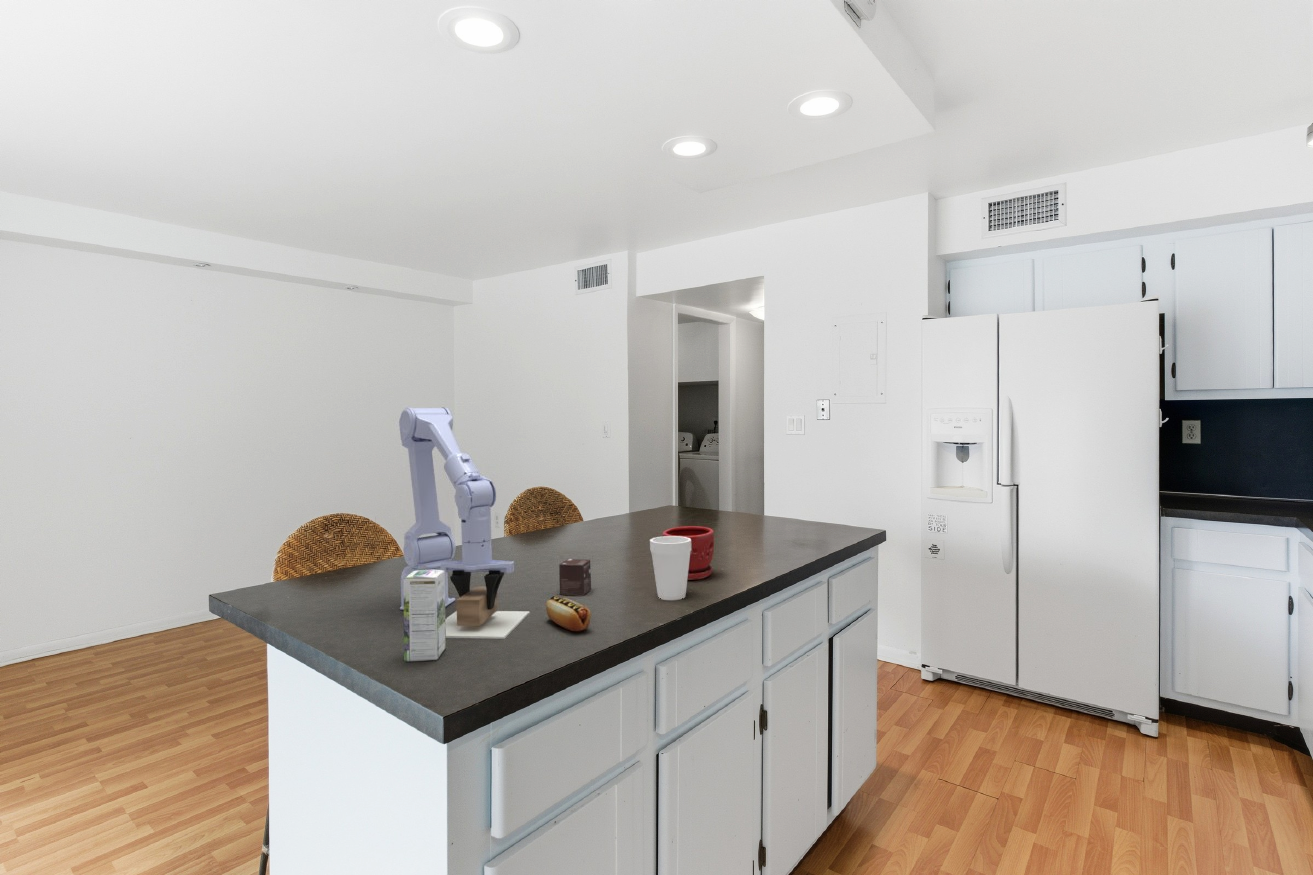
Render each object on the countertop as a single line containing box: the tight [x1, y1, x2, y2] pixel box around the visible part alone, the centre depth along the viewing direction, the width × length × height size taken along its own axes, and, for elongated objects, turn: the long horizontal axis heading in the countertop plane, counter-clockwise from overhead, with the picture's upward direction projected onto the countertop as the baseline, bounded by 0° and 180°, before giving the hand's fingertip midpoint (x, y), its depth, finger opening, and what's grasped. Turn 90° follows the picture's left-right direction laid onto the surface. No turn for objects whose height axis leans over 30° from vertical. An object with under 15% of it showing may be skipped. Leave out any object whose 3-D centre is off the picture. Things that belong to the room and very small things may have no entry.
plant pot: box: [662, 525, 715, 581], centre depth 167 cm, size 13×13×12 cm
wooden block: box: [455, 585, 499, 626], centre depth 130 cm, size 10×4×5 cm, turn 174°
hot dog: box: [545, 595, 592, 632], centre depth 129 cm, size 5×13×5 cm, turn 36°
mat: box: [445, 610, 531, 640], centre depth 131 cm, size 16×16×1 cm
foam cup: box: [649, 536, 691, 601], centre depth 149 cm, size 10×9×13 cm
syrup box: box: [403, 570, 447, 662], centre depth 114 cm, size 6×6×14 cm
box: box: [558, 558, 592, 597], centre depth 154 cm, size 6×6×7 cm
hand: (478, 607), depth 131 cm, fingers closed on wooden block, 4 cm apart
